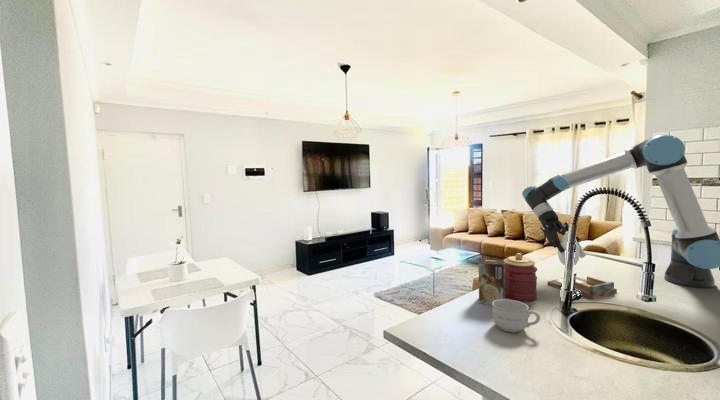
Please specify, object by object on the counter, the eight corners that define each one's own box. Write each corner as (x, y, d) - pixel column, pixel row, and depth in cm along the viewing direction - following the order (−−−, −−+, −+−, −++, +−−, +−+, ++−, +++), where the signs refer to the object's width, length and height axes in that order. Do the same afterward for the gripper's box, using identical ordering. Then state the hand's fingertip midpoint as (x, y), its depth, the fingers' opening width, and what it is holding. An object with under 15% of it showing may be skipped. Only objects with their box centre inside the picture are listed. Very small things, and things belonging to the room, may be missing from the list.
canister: (544, 299, 126) (545, 254, 124) (519, 304, 121) (519, 259, 120) (518, 288, 138) (518, 247, 136) (494, 292, 133) (494, 251, 132)
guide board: (573, 279, 146) (573, 269, 146) (616, 292, 129) (617, 281, 129) (547, 284, 141) (547, 274, 140) (589, 299, 124) (589, 288, 123)
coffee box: (503, 300, 126) (504, 260, 124) (504, 306, 120) (504, 264, 119) (479, 297, 129) (478, 258, 128) (478, 303, 123) (478, 262, 122)
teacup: (485, 327, 105) (485, 303, 104) (502, 317, 112) (503, 294, 111) (529, 344, 94) (529, 318, 93) (545, 332, 101) (545, 307, 100)
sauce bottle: (574, 263, 142) (574, 223, 140) (582, 269, 134) (583, 227, 132) (554, 263, 143) (555, 224, 142) (562, 269, 136) (562, 227, 134)
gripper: (557, 218, 155) (588, 259, 141) (523, 220, 149) (551, 264, 135) (568, 208, 149) (601, 250, 135) (532, 210, 144) (563, 255, 130)
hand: (576, 257), depth 135 cm, fingers closed on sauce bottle, 7 cm apart
